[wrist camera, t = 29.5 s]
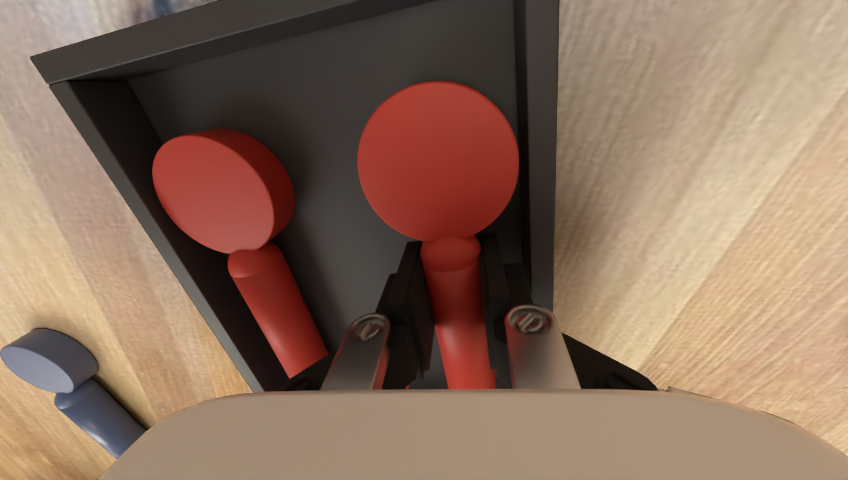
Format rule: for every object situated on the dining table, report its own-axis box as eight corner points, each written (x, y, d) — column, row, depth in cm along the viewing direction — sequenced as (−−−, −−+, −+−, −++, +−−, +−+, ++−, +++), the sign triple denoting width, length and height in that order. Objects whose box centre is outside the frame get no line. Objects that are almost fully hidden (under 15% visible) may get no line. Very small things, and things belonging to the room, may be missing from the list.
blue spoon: (15, 329, 21) (-30, 354, 19) (65, 326, 20) (23, 352, 18) (134, 442, 27) (109, 469, 25) (177, 443, 26) (155, 472, 24)
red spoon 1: (164, 139, 12) (107, 150, 10) (266, 117, 11) (225, 126, 9) (292, 370, 18) (272, 404, 16) (365, 368, 17) (353, 404, 16)
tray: (113, 60, 12) (27, 56, 9) (537, -56, 9) (562, -105, 6) (298, 390, 20) (277, 429, 18) (539, 390, 17) (550, 436, 15)
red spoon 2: (354, 96, 10) (327, 101, 8) (507, 65, 9) (520, 61, 7) (428, 381, 16) (423, 423, 14) (522, 380, 15) (530, 424, 13)
